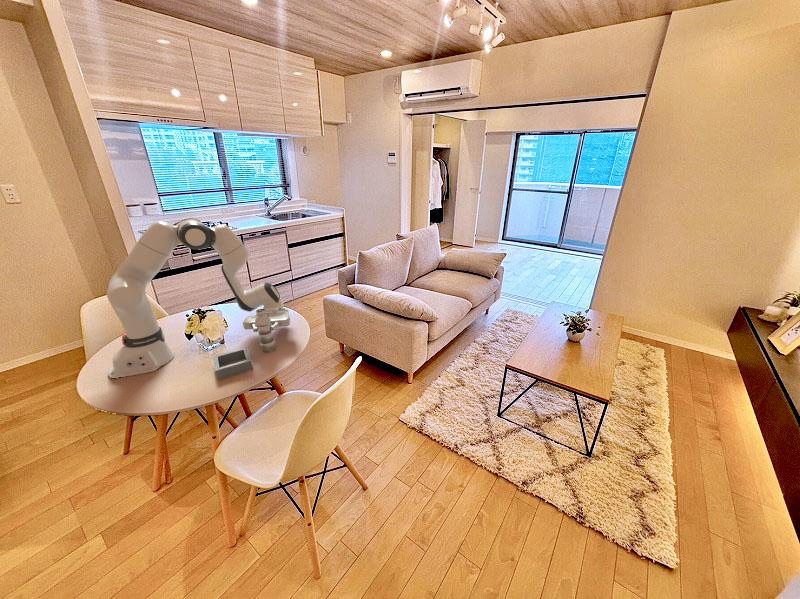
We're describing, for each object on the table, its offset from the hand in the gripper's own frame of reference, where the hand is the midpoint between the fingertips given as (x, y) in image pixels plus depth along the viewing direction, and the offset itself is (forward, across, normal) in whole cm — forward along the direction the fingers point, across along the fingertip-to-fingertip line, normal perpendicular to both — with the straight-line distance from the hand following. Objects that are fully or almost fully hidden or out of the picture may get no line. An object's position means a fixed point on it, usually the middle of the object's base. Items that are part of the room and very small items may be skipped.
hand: (263, 329), depth 140 cm
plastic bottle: (-1, 0, +11) cm, 11 cm away
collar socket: (+10, -12, +11) cm, 19 cm away
